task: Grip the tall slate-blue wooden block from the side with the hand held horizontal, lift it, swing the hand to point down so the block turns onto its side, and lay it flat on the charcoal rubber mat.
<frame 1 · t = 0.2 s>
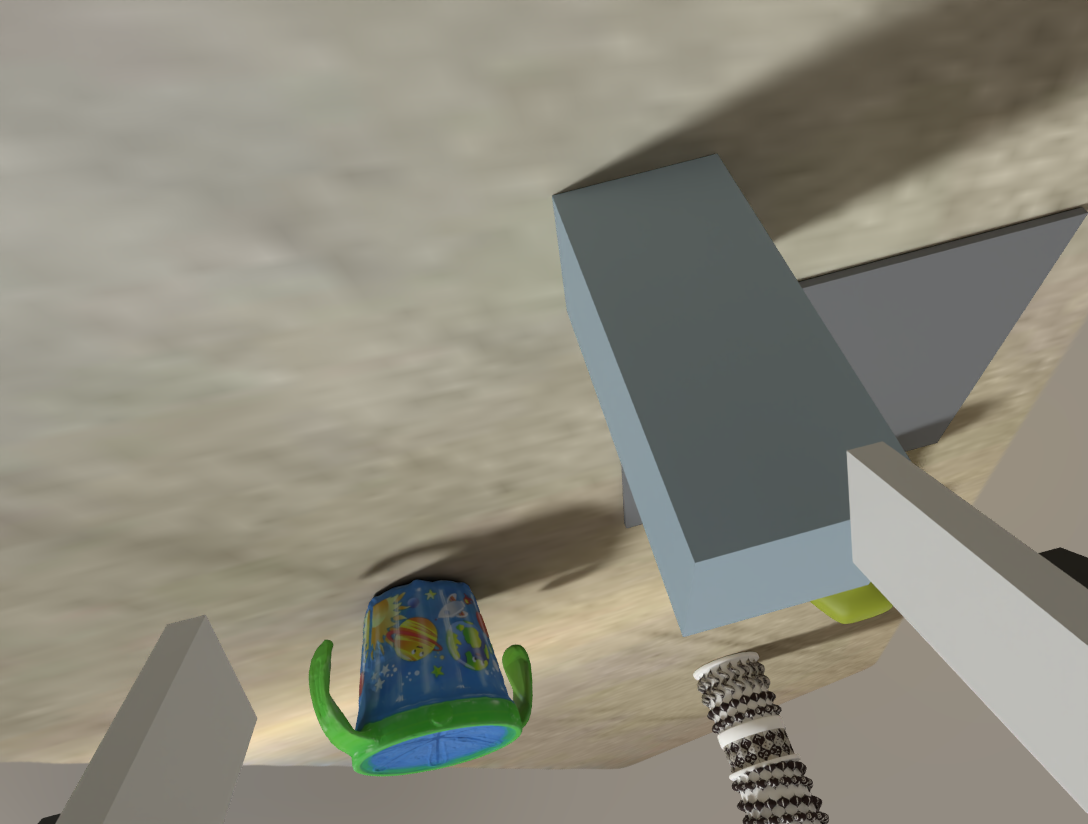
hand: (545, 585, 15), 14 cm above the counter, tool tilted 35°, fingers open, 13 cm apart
patterned white cylinder: (724, 663, 89), on the counter
snack cup: (417, 595, 50), on the counter
mat: (808, 395, 40), on the counter
block: (635, 239, 28), on the counter
dumbbell: (831, 500, 54), on the counter, touching mat
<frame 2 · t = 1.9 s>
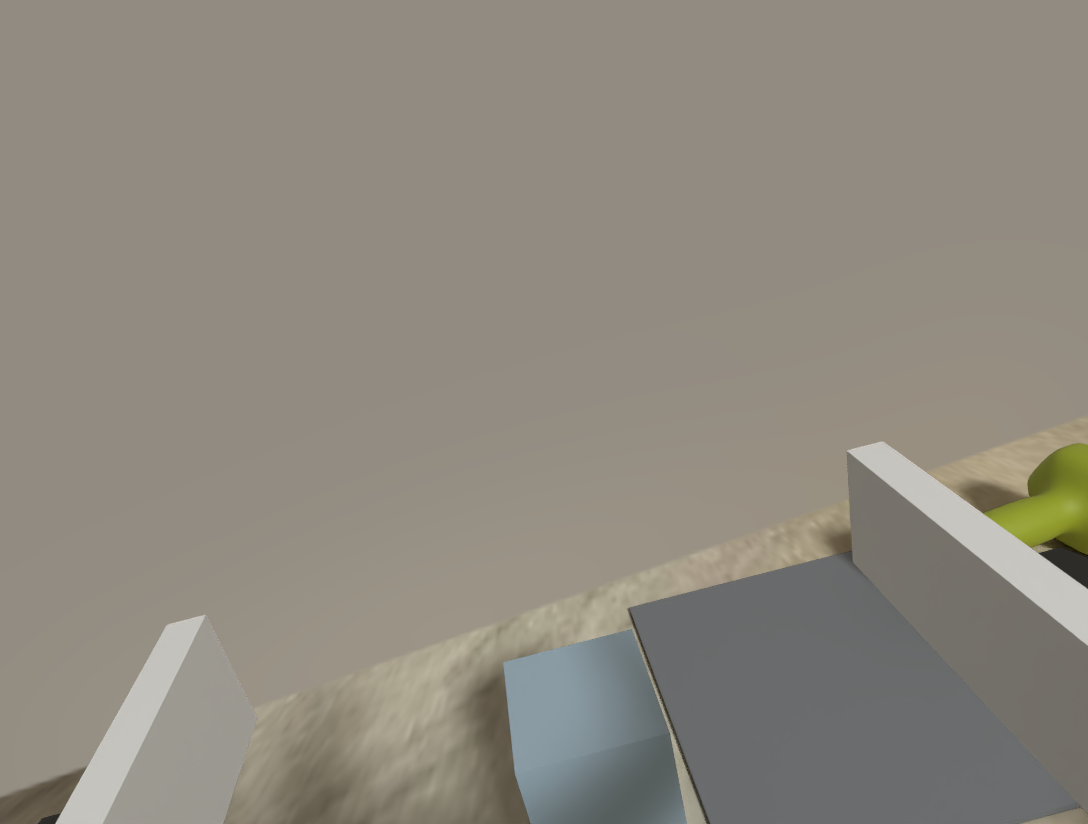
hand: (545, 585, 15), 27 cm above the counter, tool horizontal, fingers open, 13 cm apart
mat: (826, 682, 45), on the counter
dumbbell: (1010, 573, 50), on the counter, touching mat
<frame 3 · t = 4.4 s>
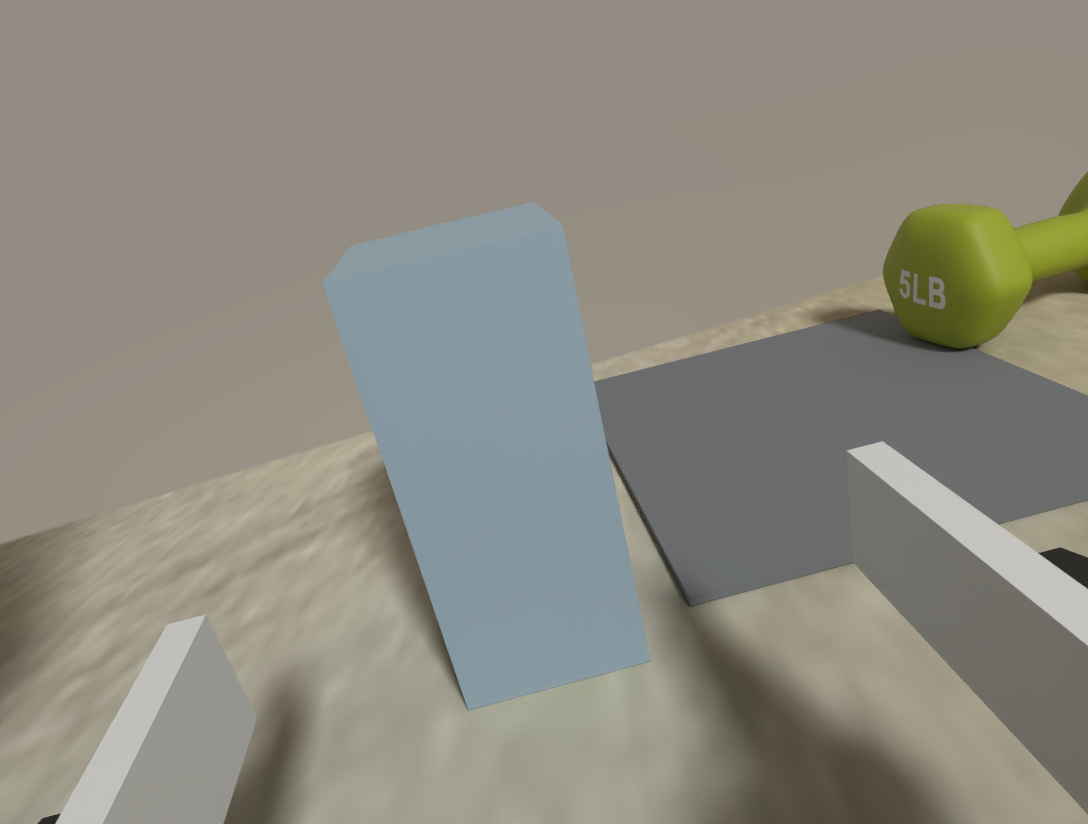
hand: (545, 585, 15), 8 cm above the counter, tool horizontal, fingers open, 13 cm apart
mat: (813, 417, 35), on the counter
block: (547, 625, 26), on the counter
dumbbell: (1039, 315, 41), on the counter, touching mat
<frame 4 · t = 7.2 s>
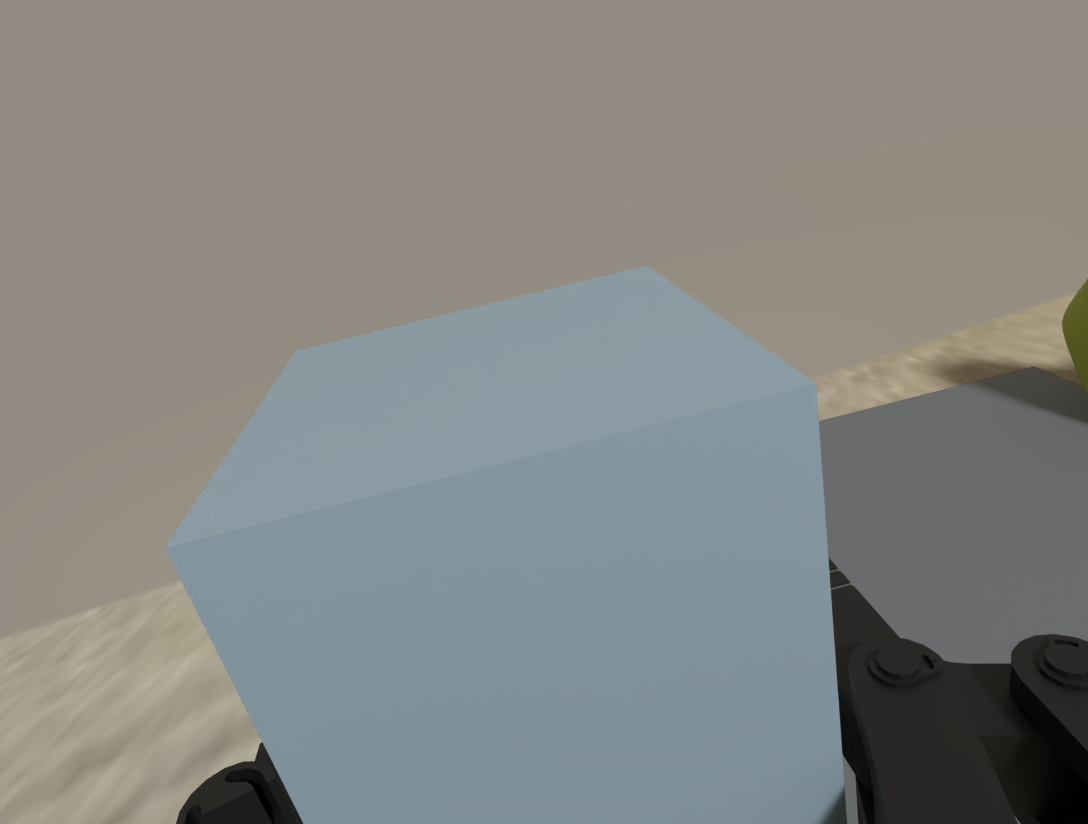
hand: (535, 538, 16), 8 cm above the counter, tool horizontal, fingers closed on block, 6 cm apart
mat: (999, 548, 24), on the counter
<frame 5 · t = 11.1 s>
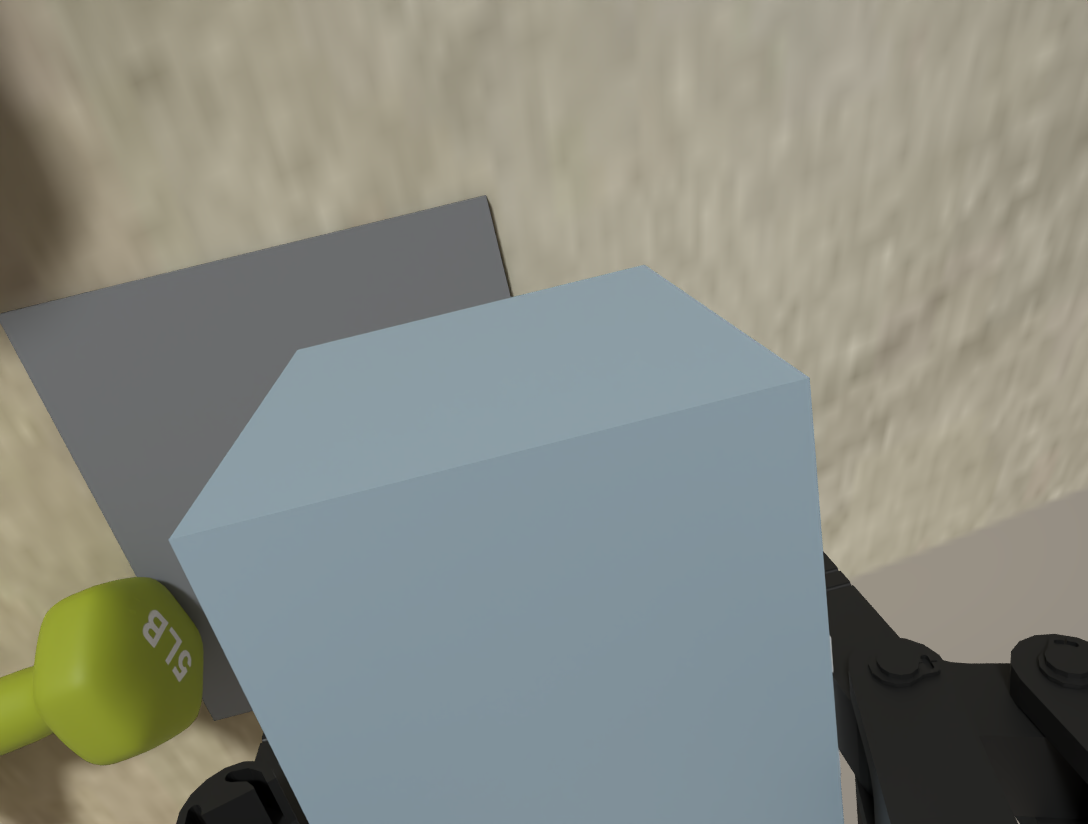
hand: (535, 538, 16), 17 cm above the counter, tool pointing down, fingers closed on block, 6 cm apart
mat: (335, 485, 33), on the counter
dumbbell: (46, 656, 35), on the counter, touching mat
when the fingers open (2 cm above the counter, at t = 14.8 s): block drops 4 cm, resting on mat.
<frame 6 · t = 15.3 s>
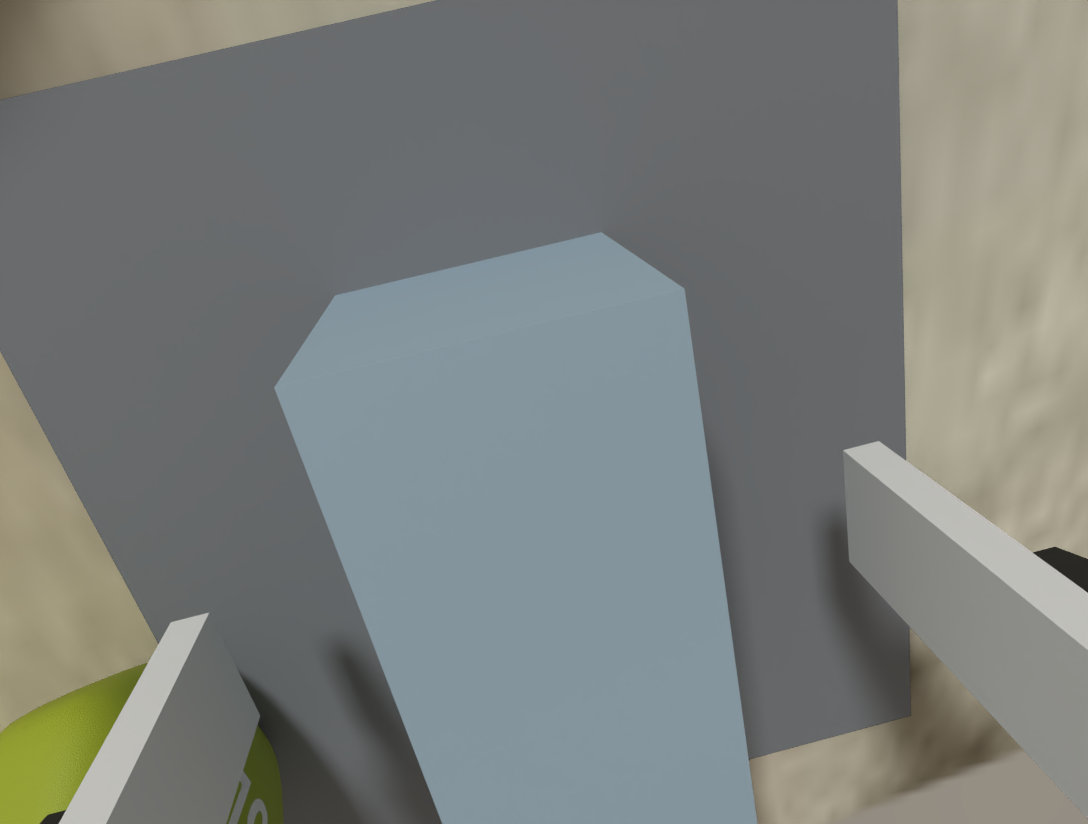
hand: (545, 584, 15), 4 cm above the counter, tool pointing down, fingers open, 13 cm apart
mat: (524, 488, 18), on the counter
block: (607, 819, 18), point 3 cm above the counter, tilted 90°, touching mat
dumbbell: (1, 788, 20), on the counter, touching mat
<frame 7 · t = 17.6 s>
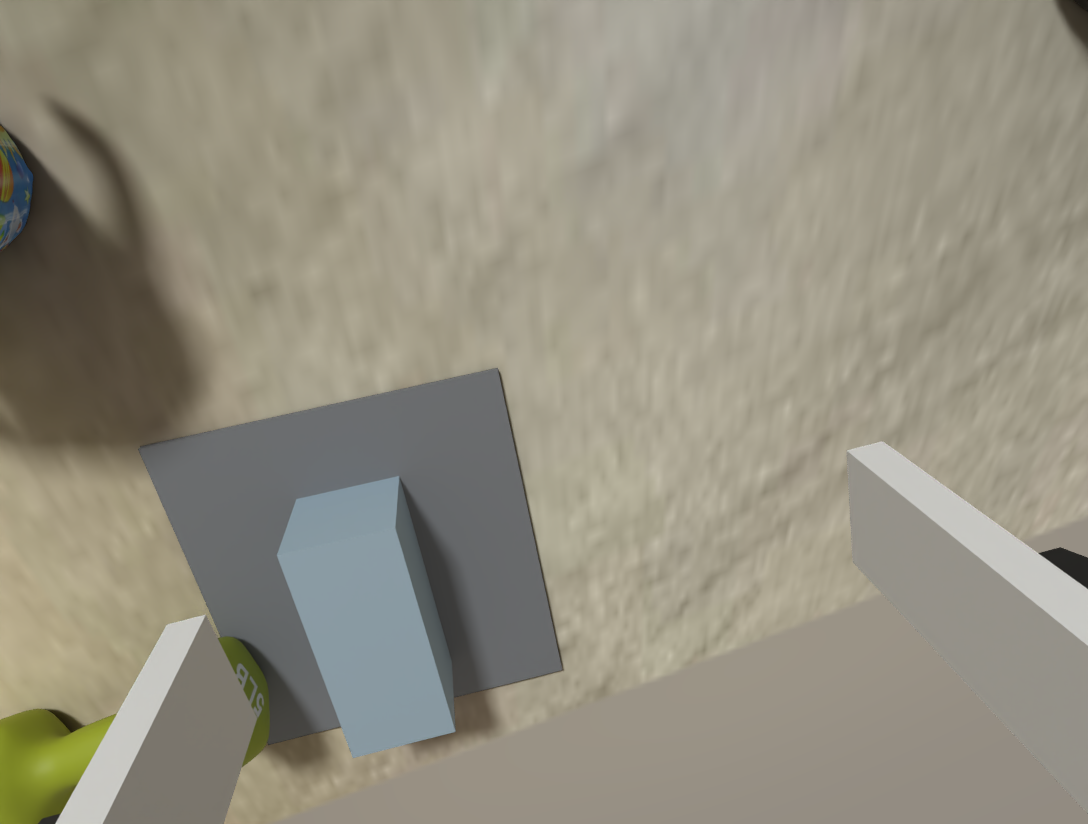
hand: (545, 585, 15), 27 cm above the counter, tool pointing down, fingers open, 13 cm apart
mat: (374, 568, 44), on the counter
block: (405, 706, 44), point 3 cm above the counter, tilted 90°, touching mat
dumbbell: (143, 694, 45), on the counter, touching mat
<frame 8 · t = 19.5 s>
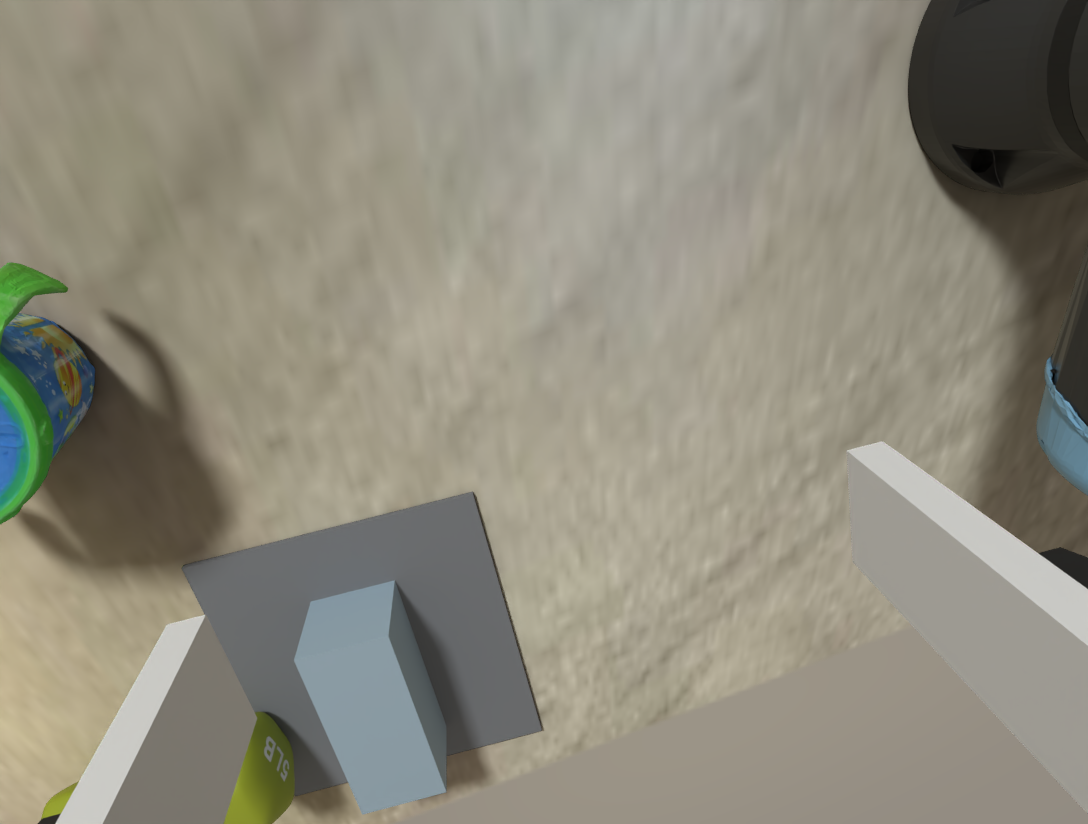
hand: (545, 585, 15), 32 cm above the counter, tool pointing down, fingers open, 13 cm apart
snack cup: (33, 369, 43), on the counter
mat: (378, 652, 53), on the counter
block: (406, 767, 53), point 3 cm above the counter, tilted 90°, touching mat
dumbbell: (191, 757, 54), on the counter, touching mat
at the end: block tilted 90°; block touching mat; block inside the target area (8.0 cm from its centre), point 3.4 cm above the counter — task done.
